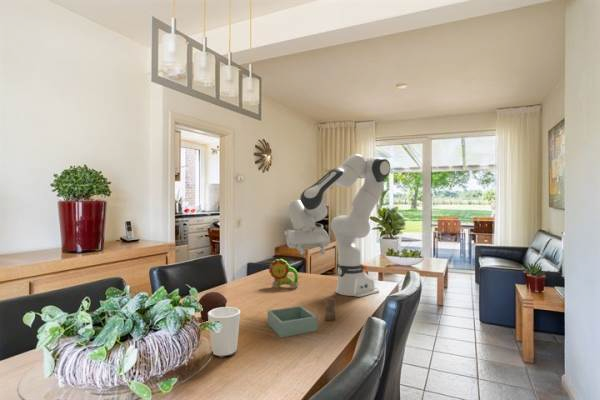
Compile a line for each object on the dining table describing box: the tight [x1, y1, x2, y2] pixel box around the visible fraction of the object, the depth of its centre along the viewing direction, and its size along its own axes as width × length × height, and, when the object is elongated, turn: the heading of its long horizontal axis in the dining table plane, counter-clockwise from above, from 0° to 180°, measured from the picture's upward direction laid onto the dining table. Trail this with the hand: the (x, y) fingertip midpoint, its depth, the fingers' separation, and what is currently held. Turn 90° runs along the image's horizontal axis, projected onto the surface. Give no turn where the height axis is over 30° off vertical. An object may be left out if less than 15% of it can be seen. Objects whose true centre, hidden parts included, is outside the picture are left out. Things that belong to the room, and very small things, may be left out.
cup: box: [208, 306, 241, 359], centre depth 102 cm, size 10×10×13 cm
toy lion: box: [268, 258, 299, 290], centre depth 178 cm, size 16×6×15 cm, turn 77°
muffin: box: [198, 291, 228, 322], centre depth 132 cm, size 12×11×10 cm
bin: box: [267, 305, 318, 338], centre depth 123 cm, size 14×14×5 cm
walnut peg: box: [324, 297, 336, 322], centre depth 131 cm, size 4×4×8 cm
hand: (313, 253), depth 143 cm, fingers open, 8 cm apart
